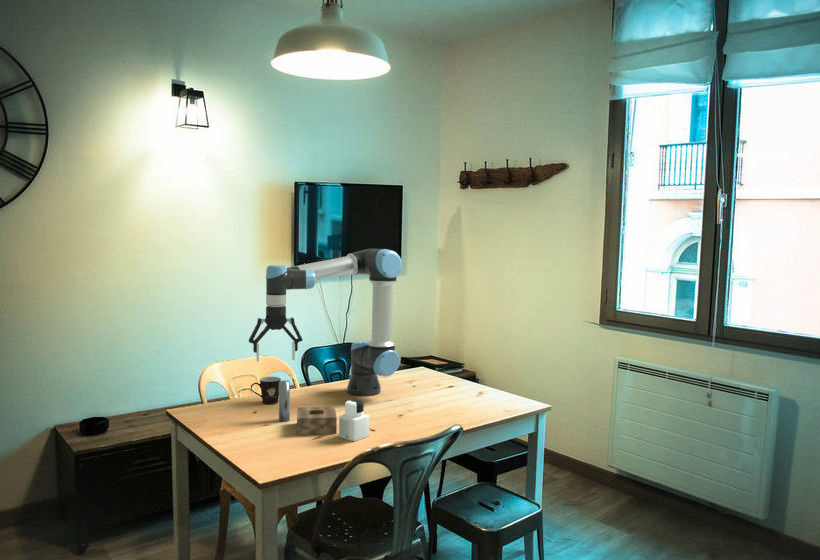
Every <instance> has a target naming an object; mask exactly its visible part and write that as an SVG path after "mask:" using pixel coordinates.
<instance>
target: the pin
mask: <svg viewBox="0 0 820 560" xmlns="http://www.w3.org/2000/svg"><path fill="white" fill-rule="evenodd" d="M290 384H291V383H290V380H281V381H279V399H278V422H280V423H287V422H289V421H290V416H291V414H290V413H291V412H290V411H291V410H290V406H291V405H290V403H291V402H290V400H291V398H290V397H291V395H290V391H291V390H290V389H291V385H290Z"/></svg>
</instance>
